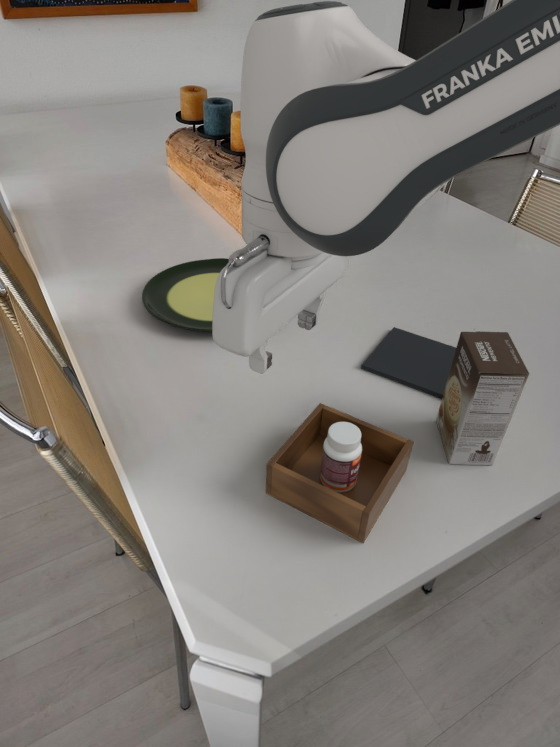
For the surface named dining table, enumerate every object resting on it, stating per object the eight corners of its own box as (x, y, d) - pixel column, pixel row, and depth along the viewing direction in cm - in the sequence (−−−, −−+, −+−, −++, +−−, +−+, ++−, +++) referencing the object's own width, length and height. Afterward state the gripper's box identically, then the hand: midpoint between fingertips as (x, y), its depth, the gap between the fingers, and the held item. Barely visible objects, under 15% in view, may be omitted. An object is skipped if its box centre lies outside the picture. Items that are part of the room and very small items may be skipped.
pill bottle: (355, 496, 68) (363, 449, 63) (317, 490, 69) (323, 443, 64) (357, 468, 72) (365, 421, 67) (321, 463, 72) (327, 416, 67)
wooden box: (406, 470, 73) (413, 441, 69) (363, 543, 63) (369, 514, 60) (317, 431, 78) (320, 402, 75) (265, 493, 69) (266, 463, 65)
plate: (150, 269, 116) (148, 258, 114) (280, 267, 119) (280, 256, 117) (135, 343, 94) (133, 331, 92) (295, 338, 97) (296, 327, 95)
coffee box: (433, 419, 81) (458, 328, 71) (476, 421, 81) (507, 330, 71) (448, 465, 73) (478, 371, 64) (495, 467, 73) (532, 373, 64)
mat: (503, 367, 92) (504, 363, 91) (480, 413, 82) (482, 409, 82) (393, 330, 100) (393, 326, 99) (360, 368, 90) (361, 364, 90)
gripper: (255, 272, 40) (254, 411, 49) (369, 195, 54) (353, 313, 63) (189, 251, 43) (199, 387, 51) (314, 182, 57) (306, 298, 65)
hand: (285, 346), depth 57 cm, fingers open, 8 cm apart
